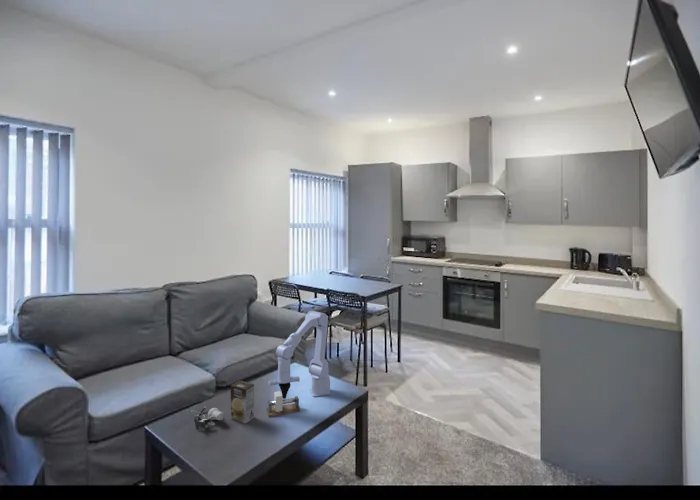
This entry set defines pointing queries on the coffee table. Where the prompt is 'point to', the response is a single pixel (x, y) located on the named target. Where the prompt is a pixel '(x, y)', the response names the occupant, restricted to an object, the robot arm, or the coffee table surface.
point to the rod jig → (284, 407)
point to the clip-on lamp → (212, 415)
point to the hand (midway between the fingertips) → (284, 397)
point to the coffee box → (242, 401)
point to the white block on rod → (278, 401)
